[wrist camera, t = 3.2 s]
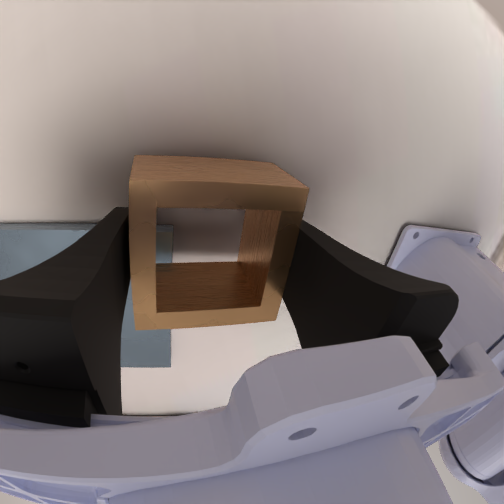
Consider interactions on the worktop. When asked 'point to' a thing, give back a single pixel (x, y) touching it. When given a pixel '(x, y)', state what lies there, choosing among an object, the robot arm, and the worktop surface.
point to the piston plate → (59, 238)
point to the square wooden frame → (212, 273)
